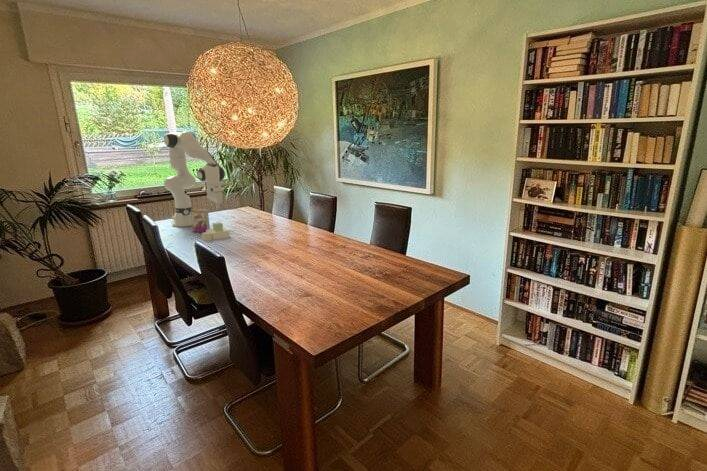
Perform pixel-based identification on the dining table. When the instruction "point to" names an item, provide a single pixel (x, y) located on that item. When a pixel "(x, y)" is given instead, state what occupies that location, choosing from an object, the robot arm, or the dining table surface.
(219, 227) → the green cube
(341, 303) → the dining table surface
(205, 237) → the beige cube
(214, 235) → the base block
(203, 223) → the candy bar box
